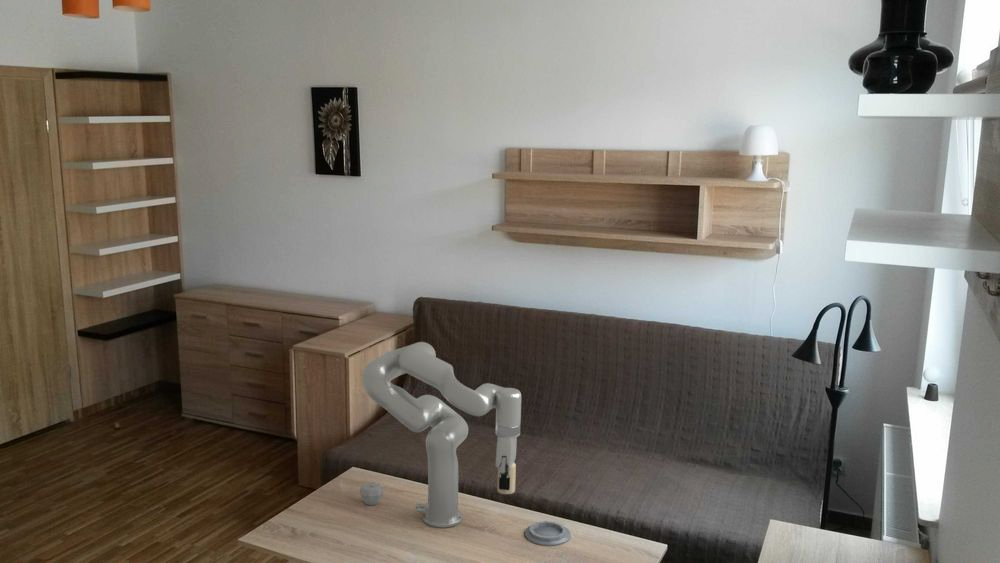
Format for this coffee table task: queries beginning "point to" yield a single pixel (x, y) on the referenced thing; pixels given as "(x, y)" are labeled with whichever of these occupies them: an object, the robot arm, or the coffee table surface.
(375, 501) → the apple
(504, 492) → the candle
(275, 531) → the coffee table surface
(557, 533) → the candle dish
